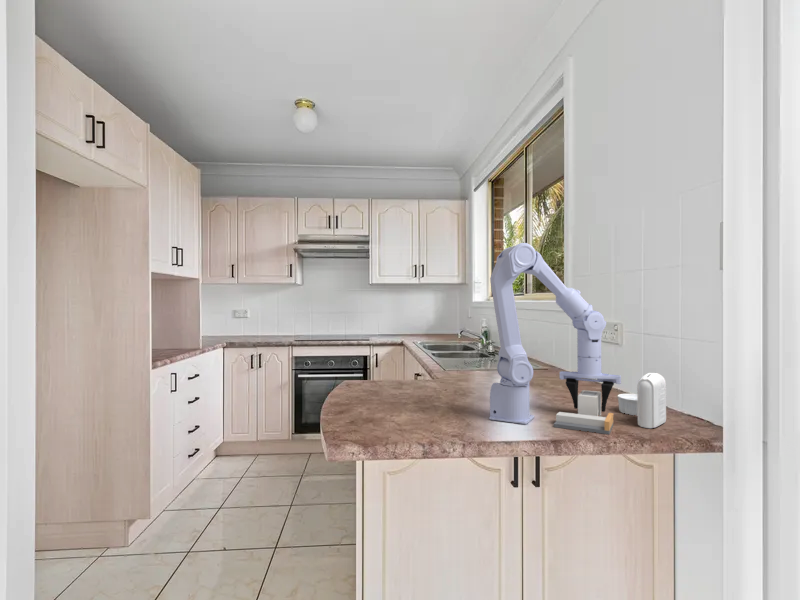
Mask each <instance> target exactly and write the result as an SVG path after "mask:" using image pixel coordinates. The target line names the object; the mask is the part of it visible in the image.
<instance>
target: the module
mask: <svg viewBox="0 0 800 600" xmlns="http://www.w3.org/2000/svg"><path fill="white" fill-rule="evenodd" d="M601 406H602V391H598V390H597V391H596V390H584V389H582V390H581V392H580V393H578V408H577V414H582V415H591V416H598V415H599V416H600V417H602V410H601Z"/></svg>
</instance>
